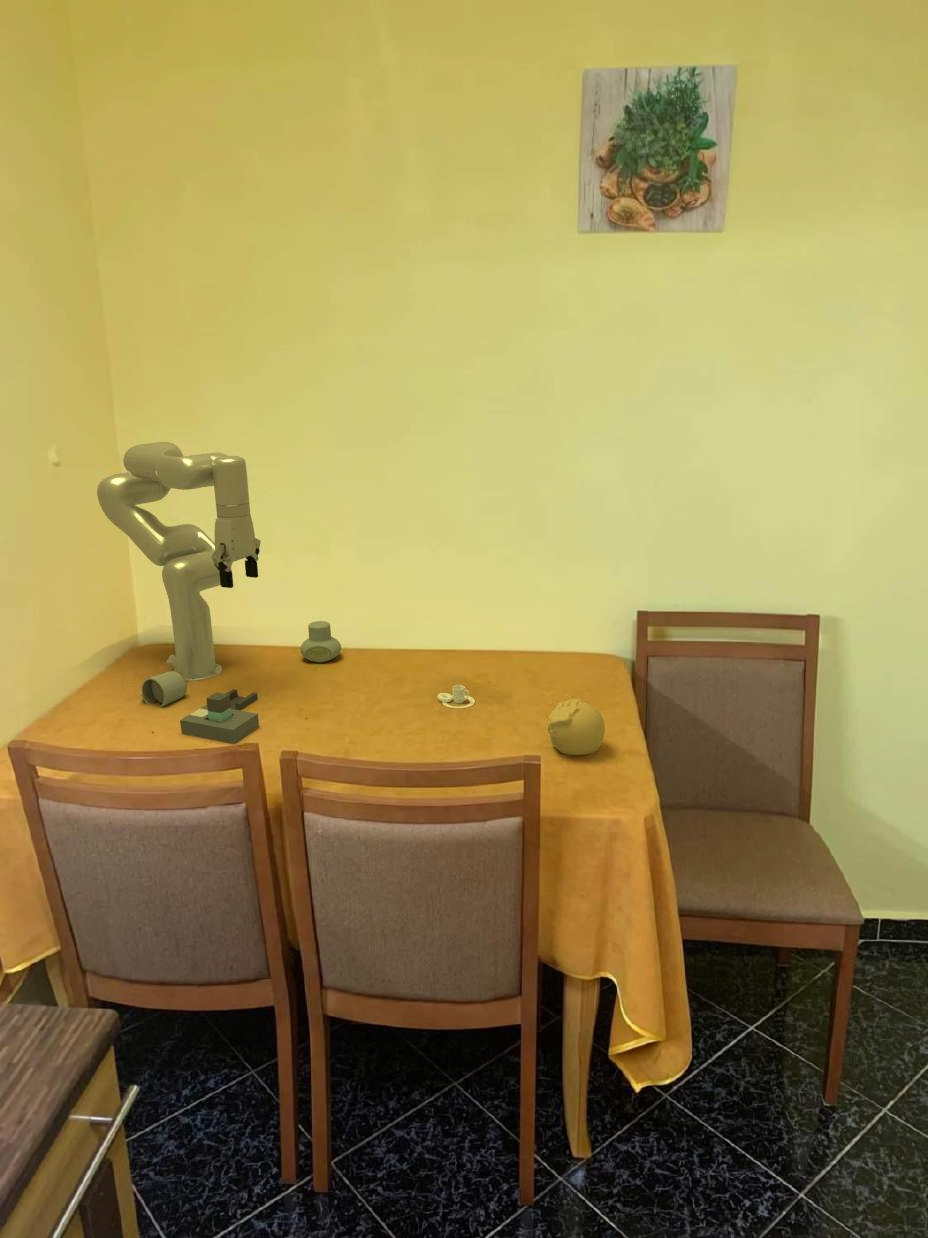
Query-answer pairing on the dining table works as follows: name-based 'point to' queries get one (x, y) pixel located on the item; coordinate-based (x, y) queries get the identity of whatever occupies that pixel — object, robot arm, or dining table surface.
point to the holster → (241, 700)
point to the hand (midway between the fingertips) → (239, 582)
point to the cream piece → (456, 697)
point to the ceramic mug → (164, 688)
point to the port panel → (220, 725)
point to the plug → (219, 707)
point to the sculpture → (576, 727)
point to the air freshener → (320, 643)
